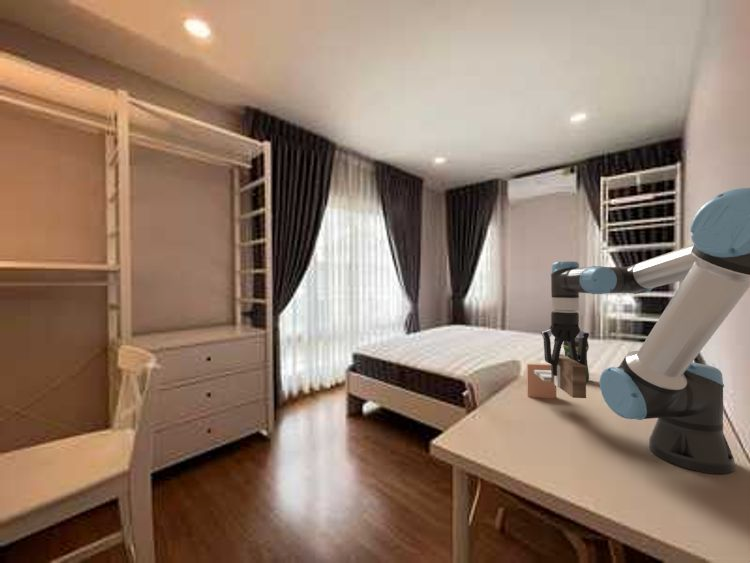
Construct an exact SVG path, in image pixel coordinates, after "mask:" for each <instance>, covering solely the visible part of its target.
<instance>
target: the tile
mask: <svg viewBox="0 0 750 563" xmlns="http://www.w3.org/2000/svg"><path fill="white" fill-rule="evenodd" d="M534 370H551V364H550V363H545V364H544V363H526V397H527V398H544V399H547V398H548V399H557V386H555V385H554V383H553V382H551V381H543V380H542V379H541V378H540V377H538V376H537V375H536V374H535V373H534Z"/></svg>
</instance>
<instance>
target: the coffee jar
mask: <svg viewBox="0 0 750 563" xmlns="http://www.w3.org/2000/svg"><path fill="white" fill-rule="evenodd" d="M575 343H576V344H575V347H576V352H577V358H578V344H579V336H578V337H577V336H576V337H575ZM589 347H590V346H589V341H588V339H587V342H586V356H585V364H584V366H586V383H587V382H589V380H590V370H589V365H588V350H589V349H590V348H589ZM562 348H563V349H564V355H565V356H567V357H569V358H570V354H569V348H568V343H567V341H563V344H562Z"/></svg>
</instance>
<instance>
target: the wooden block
mask: <svg viewBox="0 0 750 563" xmlns="http://www.w3.org/2000/svg"><path fill="white" fill-rule="evenodd" d="M551 358H552V353H551ZM558 365H559V366H560V387H558V388H559V389H561V390H562V391H563V392H565V394H567V395H569V397H571V398H572V399H573V398H575V399H587V382H586V366H584V365H582V364H581V363H579V362H577V361H575V360H573V359H571V358H569V357H567V356H565V354H564V353H563V354H561V353H560V356H559V361H558ZM534 373H535V374H536V375H537V376H538V377H540V378H541V379H542V380H543V381H551V382H553V383H554V376H553V375H552V373H551V370H534Z"/></svg>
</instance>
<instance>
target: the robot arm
mask: <svg viewBox="0 0 750 563" xmlns="http://www.w3.org/2000/svg"><path fill="white" fill-rule="evenodd" d="M689 231H690V233H692V235H690V237H691V241H692V244H691V245H687V246H684V247H682V248H679V249H676V250H673V251H670V252H667V253H664V254H661V255H657V256H655V257H652V258H649V259H647V260H643V261H640V262H638V263H635V264H632V265H629V266H617V267H616V266H601V265H600V266H599V265H596V266H595V265H593V266H586V267H585V266H584V267H582V266H581V267H580V264H579V262H578V261H569V260H568V261H555V262H553V263H552V264H551V272H550V280H551V282H550V283H551V284H550V285H551V286H550V288H551V294H550V295H551V302H550V303H551V306H550V308H551V310H552V311H551V313H550V317H551V318H550V322H551V323H550V324H551V325H550V327H549V329H547V330H541V336H542V338H543V352H544V361H545V363H546V364H551V373H552V375H553V376H554V385H555V386H556V388H559V387H560V366H559V365H558V361H559V356H560V354H561V349H562V346H563V342H564V341H567V343H568V348H569V354H570V358H571V359H573V360H575V361H577V362H579V363H581V364H582V365H584V364H585V356H586V342H587V340H588V338H589V337H590V333H588V332H586V331H582V330H581V328H580V327H579V325H580V322H579V320H580V318H579V317H580V315H579V314H580V313H579V312H578V311H579V310H580V302H579V301H580V300H579V299H580V296H579V295H580V294H590V295H604V294H633V295H634V294H635V295H638V294H644V293H645V294H646V293H650V292H651V291H652V290H653V289H654V288H657V287H662V286H667V285H669V284H675V283H677V282H681V284H680V285H679V287H678V288H677V290H676V292H675V293H674V294H673V296H672V298H671V299H670V301H669V303H668V304H667V305H666V307H665V309H664V310H663V312H662V314H660V317H659V318H658V319H657V322H656V323H655V324H654V326H653V328H652V329H651V331H650V332H649V333H648V335H647V337H646V338H645V341H643V343H642V345H641V346H640V348H639V350H633V351H629V352H627V354H625V356H624V358H623V360H622V361H621V362H620V364H619V366H611V367H608V368H606V369H604V370H603V371H602V372H601V374H600V377H599V388H600V392H601V395H602V398H603V399H604V402H605V403H606V404H607V406H608V408H610V410H611V411H612V412H613V413H615V414H616V415H617V416H619V417H621V418H622V419H626V420H627V419H628V420H637V421H641V420H647V419H648V420H649V419H657V420H656V422H655V425H654V426H653V429H652V431H651V434H650V436H649V438H648V440H649V442H648V447H649V450H650V452H652V454H653V455H655V456H657V457H658V458H660V459H662V460H664V461H666V462H669V463H671V464H674V465H676V466H679V467H682V468H685V469H688V470H692V471H695V472H699V473H700V472H701V473H706V474H707V473H708V474H715V475H716V474H718V475H725V474H726V475H727V474H729V473H733V472H734V471H735V459H734V458H735V457H734V455H733V453H732V450H731V448H730V445H729V444H728V441H727V438H726V436H725V433H724V387H725V384H724V379H723V378H724V377H723V373H722V371H721V370H720V369H719V368H717V367H715V366H711V365H708V364H703V363H698V362H694V360H695V359H696V358H697V357H698V355H699V354H700V353H701V351H702V350H703V348H705V346H706V345H707V344H708V342H709V341H710V339H712V337H713V335H714V334H715V333H716V332H717V330H718V329H719V328H720V326H721V325H722V324H723V322H724V321H725V320H726V318H728V316H729V314H731V312H732V311H733V309H734V308H735V307H736V305H737V304H738V303H739V302H740V300H741V299H742V297H744V295H745V294H746V292H747V291H748V290H749V288H750V187H741V188H735V189H731V190H727V191H725V192H722V193H719V194H717V195H716V196H714V197H712V198H711V199H709V200H707V201H706V202H705V203H704V204H703V205H702V206H701V207H700V208H699V209H698V210H697V212H696V213H695V215H694V216H693V219H692V221H691V224H690V230H689ZM551 336H553V337H554V340H553V342H554V343H553V344H554V345H553V349H552V344H551ZM577 336H578V337H579V344H578V358H577V352H576V347H575V344H576V343H575V337H577ZM551 354H552V358H551Z"/></svg>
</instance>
